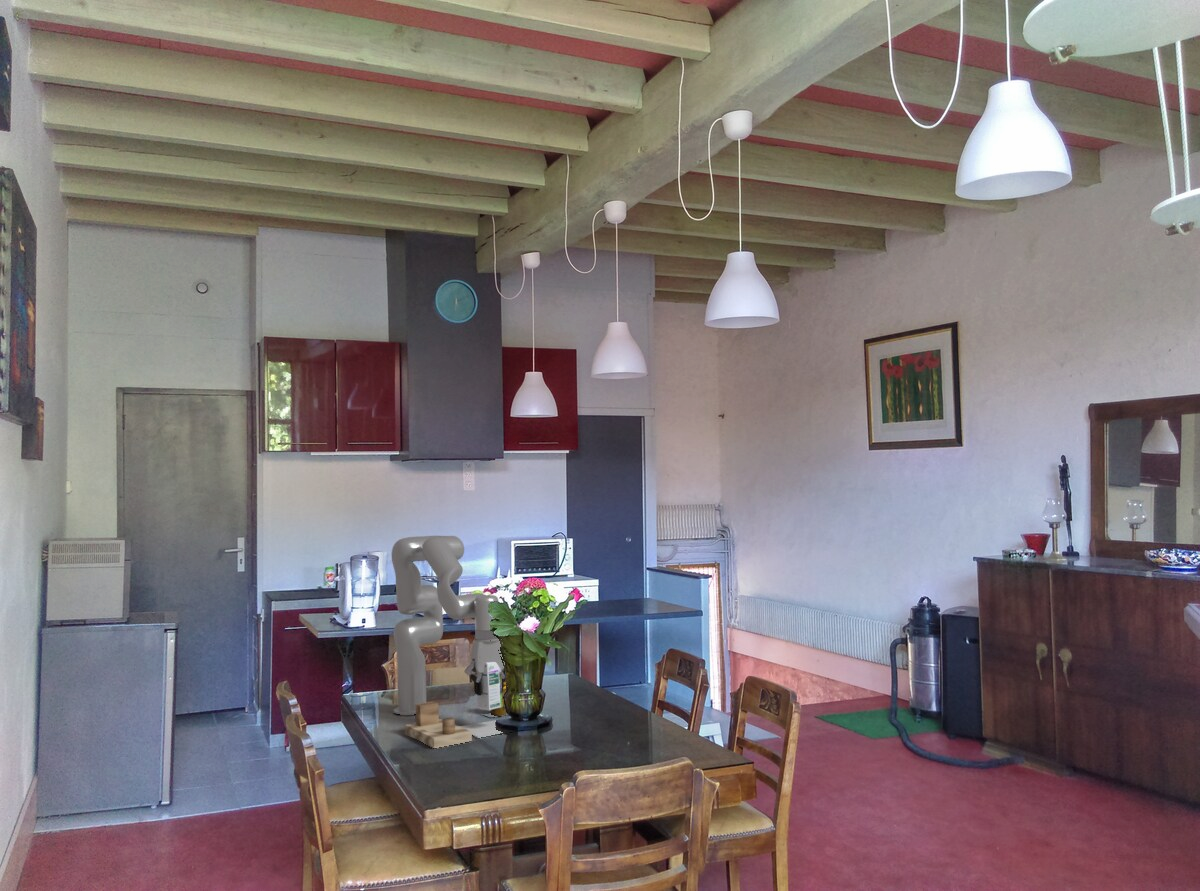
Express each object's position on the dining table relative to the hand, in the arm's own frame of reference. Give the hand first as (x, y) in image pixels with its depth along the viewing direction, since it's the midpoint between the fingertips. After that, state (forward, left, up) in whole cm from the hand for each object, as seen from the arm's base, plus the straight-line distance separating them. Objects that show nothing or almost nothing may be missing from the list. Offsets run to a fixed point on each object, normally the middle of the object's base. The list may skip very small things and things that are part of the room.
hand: (489, 692), depth 293 cm
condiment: (-17, +11, -12) cm, 23 cm away
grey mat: (0, 0, -11) cm, 11 cm away
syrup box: (0, 0, -5) cm, 5 cm away
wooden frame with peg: (-1, -17, -11) cm, 20 cm away
